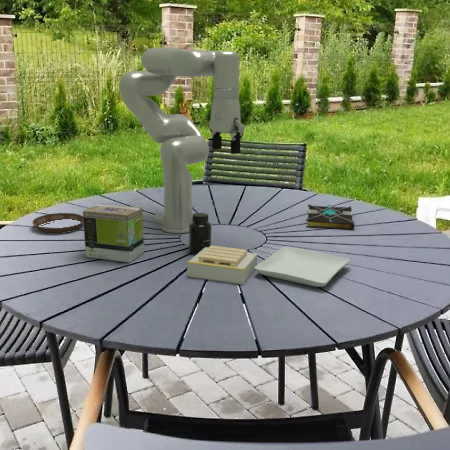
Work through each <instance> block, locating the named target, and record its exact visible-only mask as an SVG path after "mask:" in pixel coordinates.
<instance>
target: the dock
mask: <svg viewBox="0 0 450 450" xmlns="http://www.w3.org/2000/svg"><path fill="white" fill-rule="evenodd" d="M186 265H187V266H186V270H187V271H186V272H187V273H186V275H187V276H186V277H189V278H195V279H203V280H207V281H208V280H210V281H216V282H224V283H228V284H229V283H231V284H236V285H237V284H238V285H244V283H245V282H246V281H247V279H248V278H249V277H250V276H251V275H252V274H253V272H254V271H256V270H255V269H254V267H255V266H257V265H258V253H256V252H255V253H254V252H248V250H247V249H243V248H242V249H241V248H234V247H226V246H219V245H218V246H217V245H212V244H211V246H210V247H209V248H208V247H205V248H204V249H203V250H202V251H200V252H199V253H198V254H197V255H195V256H193V257H191V259H189V260H187V261H186Z"/></svg>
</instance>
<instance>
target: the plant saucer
mask: <svg viewBox="0 0 450 450" xmlns="http://www.w3.org/2000/svg"><path fill="white" fill-rule="evenodd" d="M62 219H72V220H77V221H80V222H81V223H80V224H78V225H74V226H70V227H63V228H44V227H39V225H41V224H44V223H46V224H50V223H47V222H51V221H55V220H62ZM53 223H54V222H53ZM32 224H33V226H34V227H35V228H36V230H38V231H39V232H41V233H44V232H45V233H44V234H50V233H60V234H63V233H62V232H68V231H72V232H74V231H73V230H75V231H77V230H79V229H80V228H81V227H83V226H84V222H83V215H82V214H79V213H74V212H73V213H72V212H57V213H47V214H43V215H40V216H38V217H35V218H34V219H33V220H32ZM46 224H44V225H46ZM41 226H43V225H41ZM78 228H79V229H78ZM76 229H77V230H76ZM68 233H69V232H68Z"/></svg>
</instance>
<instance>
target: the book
mask: <svg viewBox="0 0 450 450" xmlns="http://www.w3.org/2000/svg"><path fill="white" fill-rule="evenodd" d="M307 207H308V210H306V212H307V214H308V215H307V218H306V219H305V222H307V225H306V226H305V227H306V228H307V229H308V228H319V229H322V228H323V229H333V230H335V229H336V230H344V231H345V230H346V231H353V230H354V231H355V221H354V220H353V212H352V206H332V205H331V204H330V203H329V204H328V205H327V206H322V205H321V206H320V205H312V204H310V203H308V204H307Z"/></svg>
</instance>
